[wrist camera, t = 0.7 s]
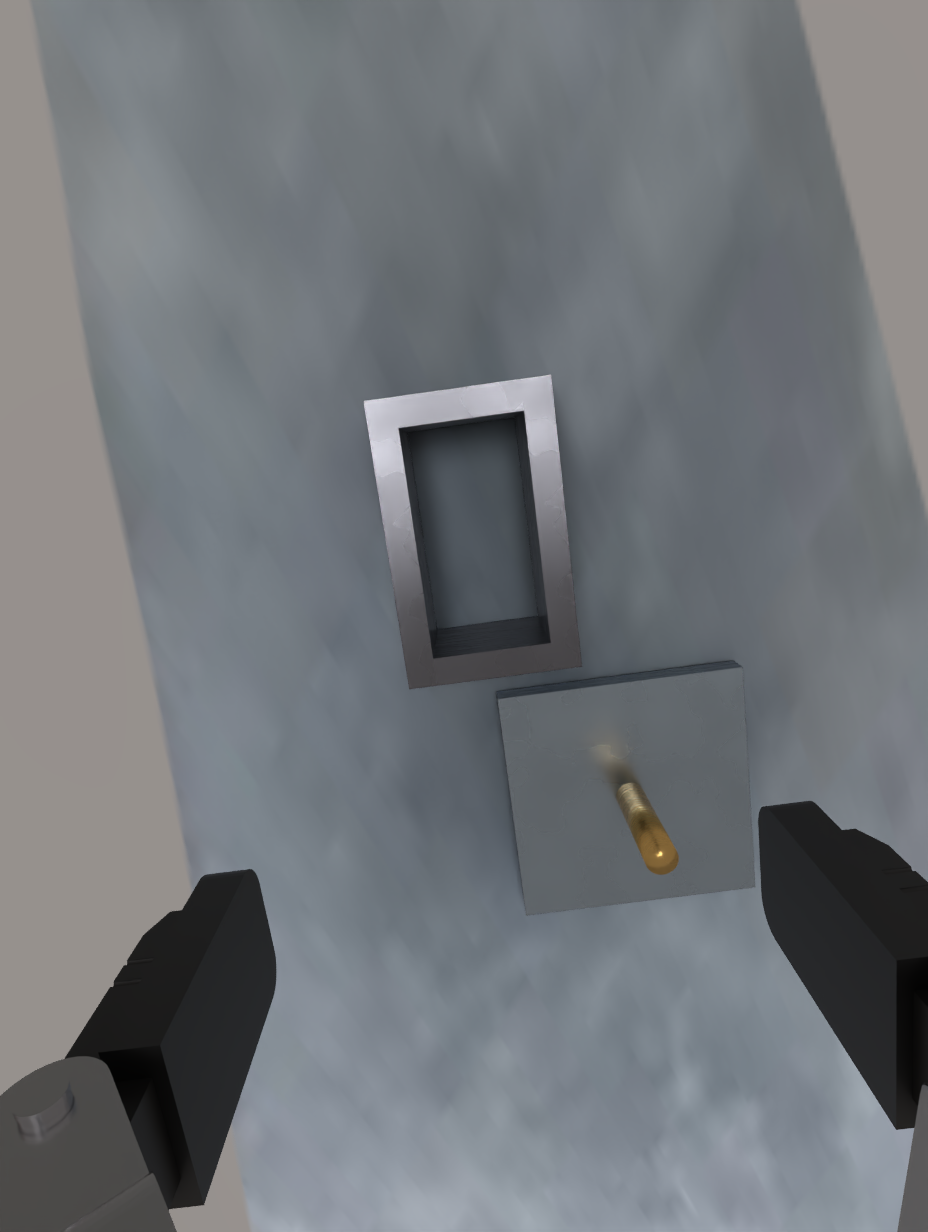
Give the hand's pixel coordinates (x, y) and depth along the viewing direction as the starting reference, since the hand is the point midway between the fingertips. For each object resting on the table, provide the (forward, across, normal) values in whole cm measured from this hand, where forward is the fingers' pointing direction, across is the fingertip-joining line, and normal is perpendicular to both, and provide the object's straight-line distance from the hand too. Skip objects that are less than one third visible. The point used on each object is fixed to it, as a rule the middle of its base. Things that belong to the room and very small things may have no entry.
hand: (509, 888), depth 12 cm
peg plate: (+19, -5, +8) cm, 22 cm away
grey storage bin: (+19, 0, -4) cm, 20 cm away
